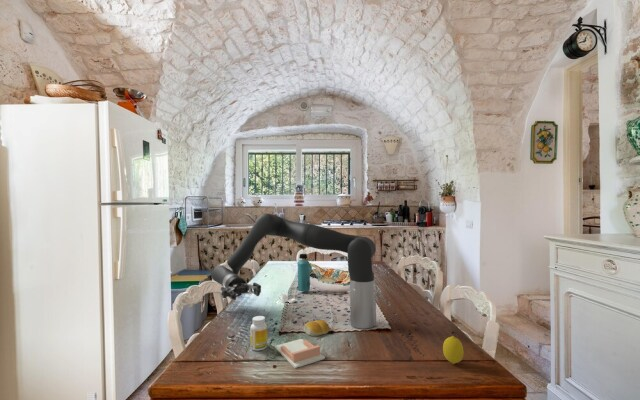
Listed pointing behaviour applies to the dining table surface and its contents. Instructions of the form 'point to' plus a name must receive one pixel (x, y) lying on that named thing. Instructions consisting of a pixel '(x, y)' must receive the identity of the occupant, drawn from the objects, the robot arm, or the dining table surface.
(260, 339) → the supplement bottle
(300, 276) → the beverage bottle
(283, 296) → the teacup and saucer
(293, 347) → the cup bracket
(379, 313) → the dining table surface
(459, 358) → the lemon
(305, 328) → the bread roll
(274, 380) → the dining table surface
